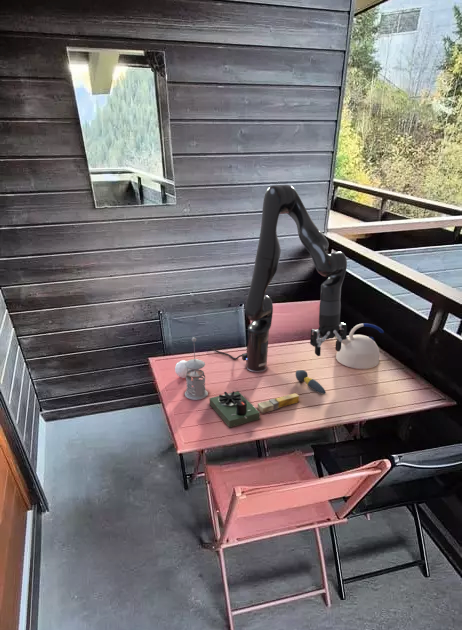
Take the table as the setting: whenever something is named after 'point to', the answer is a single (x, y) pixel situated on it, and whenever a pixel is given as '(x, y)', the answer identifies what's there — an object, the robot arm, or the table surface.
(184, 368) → the ball
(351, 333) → the kettle
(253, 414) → the stove
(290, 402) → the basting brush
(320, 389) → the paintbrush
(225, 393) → the burner
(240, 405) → the stove knob
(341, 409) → the table surface
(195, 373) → the french press
